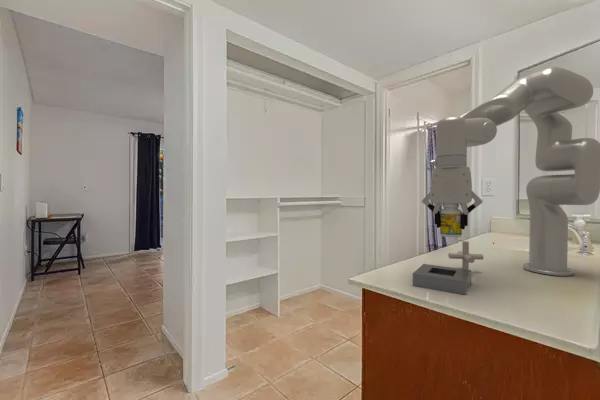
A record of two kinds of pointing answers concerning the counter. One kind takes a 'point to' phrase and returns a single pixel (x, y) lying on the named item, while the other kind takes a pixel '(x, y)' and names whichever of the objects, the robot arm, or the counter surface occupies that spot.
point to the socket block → (442, 278)
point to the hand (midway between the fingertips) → (450, 227)
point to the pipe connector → (465, 255)
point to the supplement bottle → (450, 221)
